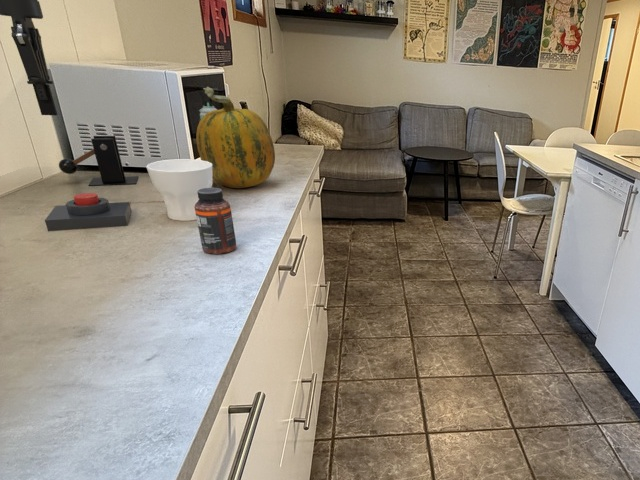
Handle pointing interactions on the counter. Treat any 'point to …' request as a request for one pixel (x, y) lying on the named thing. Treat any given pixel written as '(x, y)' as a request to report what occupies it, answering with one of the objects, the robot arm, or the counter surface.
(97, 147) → the lever bracket
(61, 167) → the switch lever
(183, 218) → the cup
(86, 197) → the push button
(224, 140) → the pumpkin
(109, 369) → the counter surface
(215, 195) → the supplement bottle
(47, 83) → the robot arm
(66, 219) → the switch box
